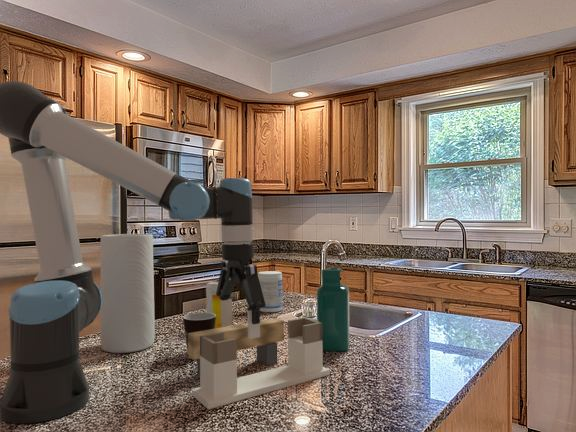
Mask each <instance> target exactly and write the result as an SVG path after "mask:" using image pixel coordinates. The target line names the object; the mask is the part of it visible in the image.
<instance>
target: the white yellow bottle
mask: <svg viewBox="0 0 576 432" xmlns="http://www.w3.org/2000/svg"><path fill="white" fill-rule="evenodd" d="M218 282H219V281H211V282H207V283H206V286H205V293H206V294H205V296H206V297H205V302H206V303H205V305H206V306H205V307H206V309H205V310H206V312H205V313H213V314H215V315H216V320H215V329H216V328H222V322H221V300H220V298H219V296H217V295H216V292H217V287H218ZM221 291H222V290H221ZM225 327H227V326H225Z"/></svg>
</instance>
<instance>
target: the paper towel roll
mask: <svg viewBox="0 0 576 432" xmlns="http://www.w3.org/2000/svg"><path fill="white" fill-rule="evenodd" d="M153 237H154V235H153V234H151V233H120V234H119V233H118V234H116V233H115V234H103V235H100V261H99V262H100V264H99V265H100V269H99V270H100V276H99V277H100V279H99V280H100V282H99V283H100V285H99V286H100V287H99V289H100V291H101V294H102V306H101V309H100V311H99V314H100V325H99V327H100V347H101V349H102V350H103V351H105V353H106V352H107V353H112V354H128V353H134V352H139V351H143V350H146V349H148V348H150V347H151V346H152V345H153V344H154V343H155V335H156V333H155V325H156V323H155V322H156V321H155V320H156V319H155V278H154V277H155V273H154V238H153Z"/></svg>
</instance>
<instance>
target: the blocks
mask: <svg viewBox="0 0 576 432" xmlns="http://www.w3.org/2000/svg"><path fill="white" fill-rule="evenodd" d="M256 361H258V362H259V363H261V364H263V365H265V366H267V367H268V366H272V365H276V364H278V342H275V343H271V344H266V345H261V346H256ZM196 374H197V375H198V376H199V377H200V358H199V359H196Z"/></svg>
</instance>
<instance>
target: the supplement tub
mask: <svg viewBox="0 0 576 432" xmlns="http://www.w3.org/2000/svg"><path fill="white" fill-rule="evenodd" d="M257 273H258V278H259V282H260V285H261V289H262V293H263V297H264V300H265V304H266V305H265V307H262V308H261V309H260V312H262V313H277V312H280V311H283V308H284V306H283V303H284V302H283V301H284V300H283V299H284V297H283V274H282V271H278V270H276V271H275V270H272V271H271V270H270V271H267V270H266V271H259V272H257Z"/></svg>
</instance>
